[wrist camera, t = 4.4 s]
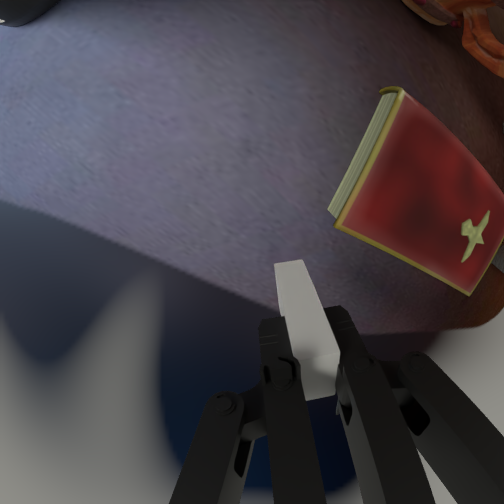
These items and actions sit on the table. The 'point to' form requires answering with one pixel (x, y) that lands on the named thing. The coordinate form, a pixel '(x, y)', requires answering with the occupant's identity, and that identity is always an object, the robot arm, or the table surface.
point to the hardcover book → (421, 195)
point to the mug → (467, 26)
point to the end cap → (499, 250)
